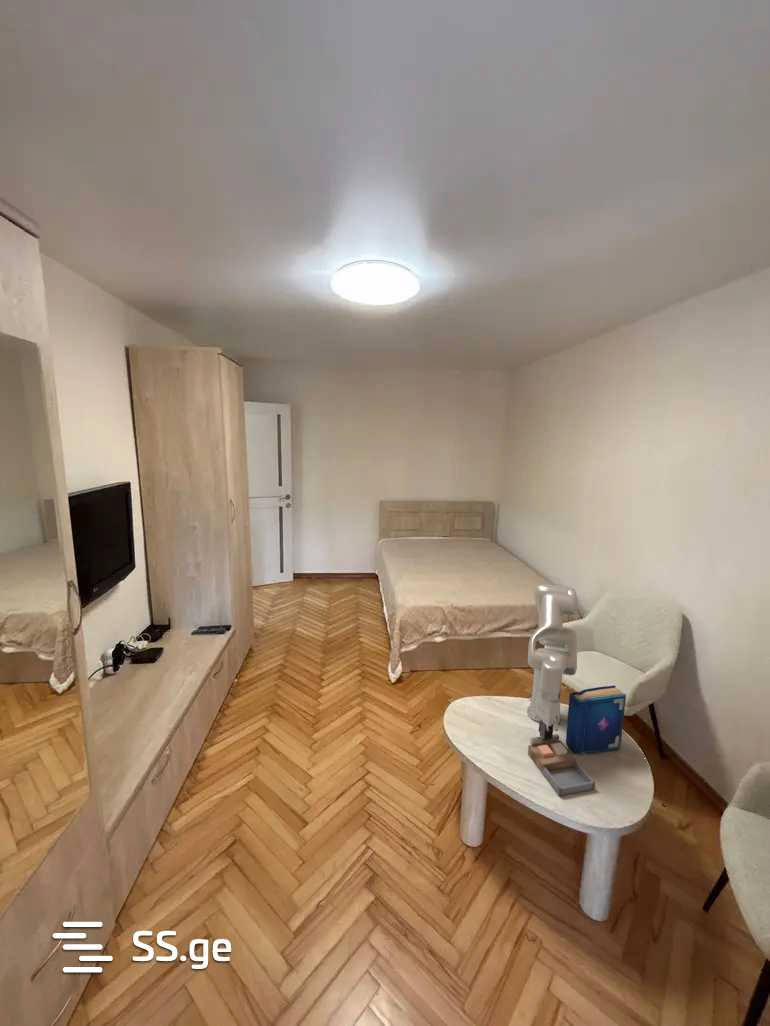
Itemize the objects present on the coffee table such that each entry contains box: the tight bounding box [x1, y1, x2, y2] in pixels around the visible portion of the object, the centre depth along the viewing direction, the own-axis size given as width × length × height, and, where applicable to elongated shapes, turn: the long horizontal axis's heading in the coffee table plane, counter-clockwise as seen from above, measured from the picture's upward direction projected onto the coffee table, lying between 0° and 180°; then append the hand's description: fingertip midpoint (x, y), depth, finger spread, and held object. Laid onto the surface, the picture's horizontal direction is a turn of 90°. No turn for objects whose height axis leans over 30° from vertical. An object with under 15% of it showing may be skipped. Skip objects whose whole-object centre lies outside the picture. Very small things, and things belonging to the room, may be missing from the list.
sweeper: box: [529, 720, 561, 745], centre depth 165 cm, size 3×12×10 cm, turn 103°
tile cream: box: [551, 743, 567, 755], centre depth 162 cm, size 4×4×2 cm
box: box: [542, 761, 596, 797], centre depth 152 cm, size 10×14×3 cm
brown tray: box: [527, 739, 578, 775], centre depth 161 cm, size 10×14×4 cm
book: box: [565, 685, 627, 755], centre depth 167 cm, size 22×7×25 cm, turn 101°
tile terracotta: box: [537, 745, 553, 757], centre depth 160 cm, size 4×4×2 cm
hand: (545, 734), depth 165 cm, fingers closed on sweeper, 3 cm apart
